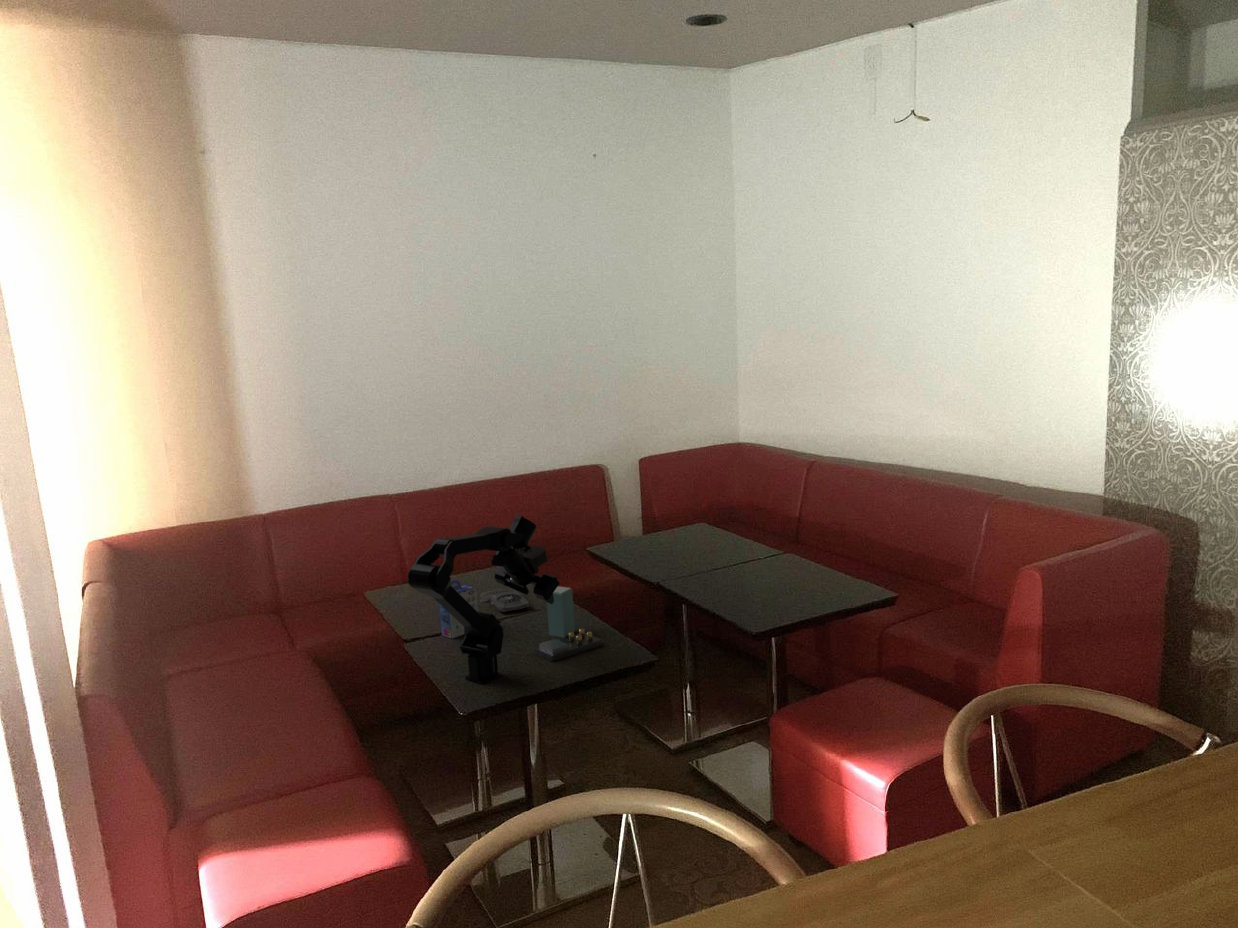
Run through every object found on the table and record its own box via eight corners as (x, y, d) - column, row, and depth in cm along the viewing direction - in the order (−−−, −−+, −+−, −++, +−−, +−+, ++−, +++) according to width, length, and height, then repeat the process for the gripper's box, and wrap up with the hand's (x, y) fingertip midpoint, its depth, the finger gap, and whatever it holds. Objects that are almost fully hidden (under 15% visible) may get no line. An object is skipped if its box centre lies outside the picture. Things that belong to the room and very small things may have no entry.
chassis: (552, 661, 238) (551, 648, 237) (534, 653, 244) (533, 640, 244) (602, 644, 248) (601, 632, 247) (584, 637, 254) (583, 625, 253)
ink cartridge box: (468, 625, 269) (464, 576, 267) (480, 629, 265) (476, 579, 263) (439, 635, 262) (435, 584, 260) (452, 639, 258) (447, 588, 256)
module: (564, 637, 255) (561, 593, 253) (549, 634, 258) (546, 591, 256) (574, 631, 259) (571, 587, 257) (559, 629, 262) (556, 585, 260)
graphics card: (478, 592, 290) (516, 585, 294) (479, 603, 291) (517, 596, 295) (492, 608, 274) (532, 600, 279) (493, 620, 275) (533, 612, 279)
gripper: (558, 546, 236) (583, 583, 247) (506, 529, 248) (532, 565, 258) (533, 581, 232) (559, 617, 242) (481, 562, 243) (508, 597, 253)
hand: (540, 597), depth 249 cm, fingers open, 9 cm apart
